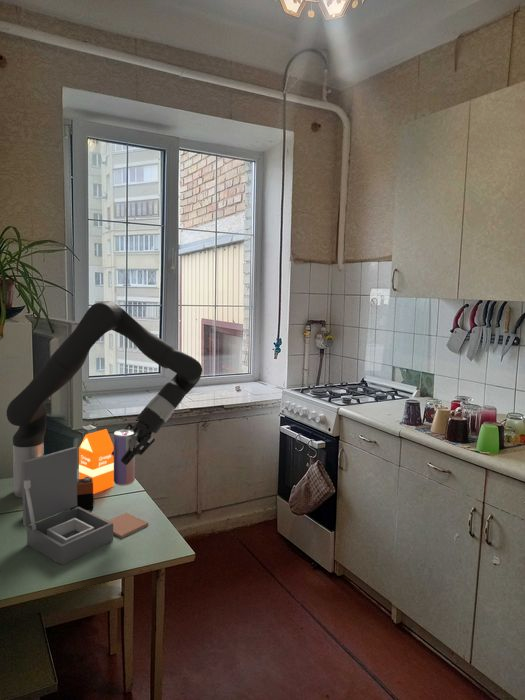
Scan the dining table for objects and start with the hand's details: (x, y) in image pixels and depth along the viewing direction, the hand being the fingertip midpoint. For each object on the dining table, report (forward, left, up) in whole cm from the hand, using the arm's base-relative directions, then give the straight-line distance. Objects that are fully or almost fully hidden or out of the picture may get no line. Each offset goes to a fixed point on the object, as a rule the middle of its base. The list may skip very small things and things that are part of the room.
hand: (118, 459), depth 145 cm
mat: (0, +2, -21) cm, 21 cm away
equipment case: (-4, -13, -21) cm, 25 cm away
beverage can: (0, +2, -7) cm, 8 cm away
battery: (-19, +1, -21) cm, 28 cm away
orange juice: (-29, +14, -21) cm, 38 cm away
